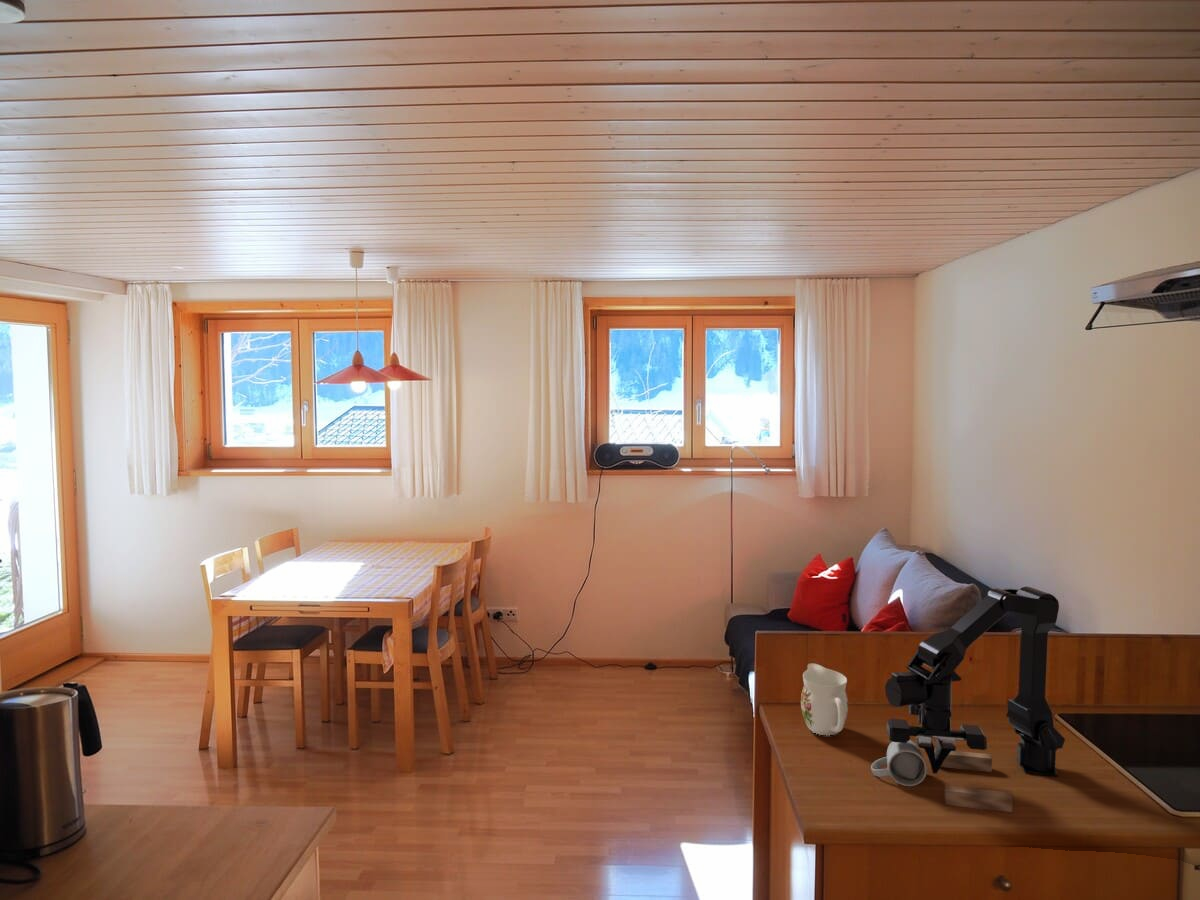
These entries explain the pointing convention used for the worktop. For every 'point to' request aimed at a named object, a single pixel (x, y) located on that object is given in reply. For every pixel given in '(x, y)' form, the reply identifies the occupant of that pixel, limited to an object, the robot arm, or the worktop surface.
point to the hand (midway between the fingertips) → (934, 772)
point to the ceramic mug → (902, 764)
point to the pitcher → (824, 700)
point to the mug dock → (970, 795)
